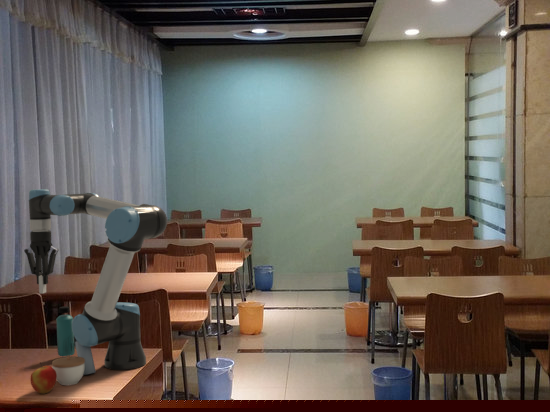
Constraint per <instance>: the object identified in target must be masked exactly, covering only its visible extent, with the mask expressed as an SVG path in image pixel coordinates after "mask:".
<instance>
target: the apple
mask: <svg viewBox="0 0 550 412" xmlns="http://www.w3.org/2000/svg"><path fill="white" fill-rule="evenodd" d="M39 364H40V366H41V367H39V368H37V369H35V370H34V371H32V372H31V374H30V385H31V387H32V388H33V390H34V391H35V392H37V393H38V394H47V393H50V392H51V391H52V390H53V388H54V387H55V385H56V383H57V380H56V378H57V374H56V371H55V370H54V369H53V366H50V365H44V366H42V362H39Z"/></svg>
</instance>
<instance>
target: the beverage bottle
mask: <svg viewBox="0 0 550 412" xmlns="http://www.w3.org/2000/svg"><path fill="white" fill-rule="evenodd" d="M58 313H59V314H61V315H59V316H58V317H56V319H55V321H56V341H57V343H56V345H57V350H56V351H57V355H58V357H67V356H68V355H70V356H73V355H74V354H75V351H76V350H75V349H76V346H75V342H76V341H75V337H74V334H73V331H72V321H73V319H74V317H73V316H72V315H70V314H69V313H71V309H70V306H60V307H59V308H58Z"/></svg>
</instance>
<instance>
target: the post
mask: <svg viewBox="0 0 550 412" xmlns="http://www.w3.org/2000/svg"><path fill="white" fill-rule="evenodd" d="M74 342H75V349H76V350H75V351H76V354H77V355H76V357H82V358H84V359H85V368H84V374H83V376H87V375H91V374H95V373H97V372H96V367H95V362H94V357H93V351H92V346H89V347H85V346H82V345H81V344H79V343H78V342H77V340H75V341H74Z"/></svg>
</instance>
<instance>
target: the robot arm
mask: <svg viewBox="0 0 550 412" xmlns="http://www.w3.org/2000/svg"><path fill="white" fill-rule="evenodd" d="M28 209H29V211H28V212H29V230H30V232H29V235H30V238H29V239H30V245H29V247H27V248H25V249H24V250H23V251H24V253H25V255H26V258H27V261H28V265H29V269H30V273H31V274H32V275H35V277H36V284H37V285H38V292H39V293H38V294H46V293H47V285H48V283H49V275H52V274H53V272H54V268H55V262H56V257H57V254H58V252H59V248H56V247H54V246H53V244H52V231H51V229H52V222H51V221H52V217H51V216H58V217H64V216H69V215H81V214H83V215H84V214H85V215H89V216H93V217H96V218H97V217H98V218H101V219H105V224H104V228H105V229H106V230H105V236H106V237H107V242H108V244H109V247H108V251H107V253H106V257H105V260H104V262H103V266H102V268H101V271H100V274H99V277H98V280H97V283H96V285H95V286H96V287H95V288H94V291H93V295H92V298H91V300H90V301H88V302H87V303H86V304H85V305H84V308H83V310H82V313H79V314H77V315H75V316H74V317H73V321H72V331H73V334H74V340H75V341H77V342H78V343H79V344H81V345H82V346H85V347H89V346H91V347H95V346H98V345H101V344H104V343H108V346H107V350H106V354H105V356H104V368H106V369H108V370H116V371H118V370H119V371H124V370H134V369H137V368H140V367H141V368H142V367H143V366H145V365H146V364H147V356H146V353H145V351H144V348H143V346H142V342H141V313H140V307H139V305H138V304H137V303H133V302H121V301H119V297H120V295H121V293H122V289H123V286H124V284H125V281H126V278H127V276H128V273H129V269H130V268H131V267H130V266H131V264H132V261H133V259H134V255H135V254H136V253H137V252H140V251H141V249H142V246H143V244H144V241H145V240H151V239H155V238H158V237H159V236H161V235H163V234H164V232H165V230H166V228H167V225H168V218H167V214H166V212H165V210H164V209H162V208H161V207H160V206H157V205H155V204H154V205H152V204H147V203H141V204H140V205H139V204H133V203H129V202H124V201H120V200H116V199H112V198H111V199H110V198H107V197H103V196H99V195H98V194H97V193H93V192H86V193H85V192H84V193H71V194H70V193H68V194H51V192H50V190H49V189H48V188H46V189H45V188H44V189H42V188H41V189H38V188H37V189H31V190H29V192H28ZM49 253H50V255H49ZM118 301H119V302H118Z"/></svg>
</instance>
